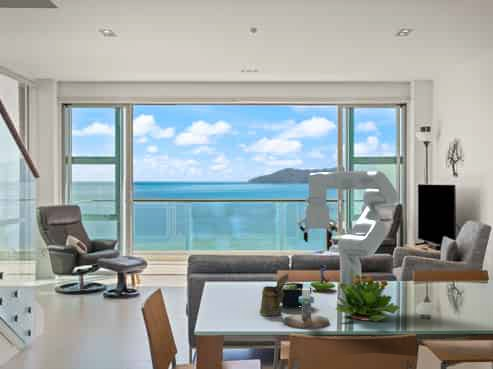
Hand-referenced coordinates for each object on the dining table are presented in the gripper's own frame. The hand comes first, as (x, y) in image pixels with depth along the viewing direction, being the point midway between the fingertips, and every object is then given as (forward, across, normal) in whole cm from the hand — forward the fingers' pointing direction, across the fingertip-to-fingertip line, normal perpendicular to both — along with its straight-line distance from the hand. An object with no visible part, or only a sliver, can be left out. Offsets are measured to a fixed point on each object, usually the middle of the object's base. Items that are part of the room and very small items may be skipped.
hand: (317, 241), depth 258 cm
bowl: (+31, -9, +12) cm, 34 cm away
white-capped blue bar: (+22, -8, -20) cm, 30 cm away
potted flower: (+31, +16, -12) cm, 36 cm away
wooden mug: (+30, -19, -4) cm, 36 cm away
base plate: (+30, -8, -19) cm, 37 cm away
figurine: (+31, +12, +48) cm, 58 cm away
